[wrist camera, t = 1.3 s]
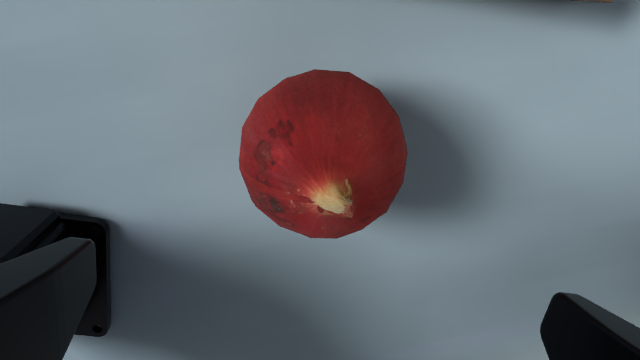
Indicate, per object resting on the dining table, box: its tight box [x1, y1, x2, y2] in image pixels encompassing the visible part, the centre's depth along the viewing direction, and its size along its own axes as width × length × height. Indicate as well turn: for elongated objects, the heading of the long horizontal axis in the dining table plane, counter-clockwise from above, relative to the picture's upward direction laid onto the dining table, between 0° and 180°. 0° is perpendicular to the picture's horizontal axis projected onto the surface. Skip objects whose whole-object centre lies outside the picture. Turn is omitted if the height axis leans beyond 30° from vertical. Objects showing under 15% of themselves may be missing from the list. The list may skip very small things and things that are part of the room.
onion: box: [239, 70, 407, 238], centre depth 16 cm, size 6×6×8 cm
